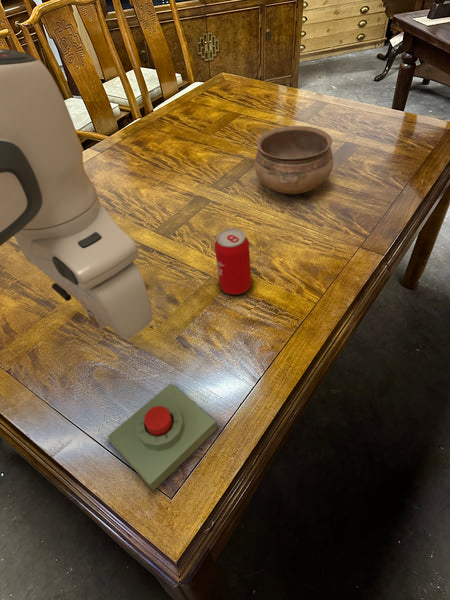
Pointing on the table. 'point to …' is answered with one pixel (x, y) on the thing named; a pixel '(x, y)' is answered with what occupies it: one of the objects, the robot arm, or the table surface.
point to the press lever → (61, 292)
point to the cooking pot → (294, 159)
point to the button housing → (163, 436)
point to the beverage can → (233, 261)
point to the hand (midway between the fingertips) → (101, 320)
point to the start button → (158, 420)
